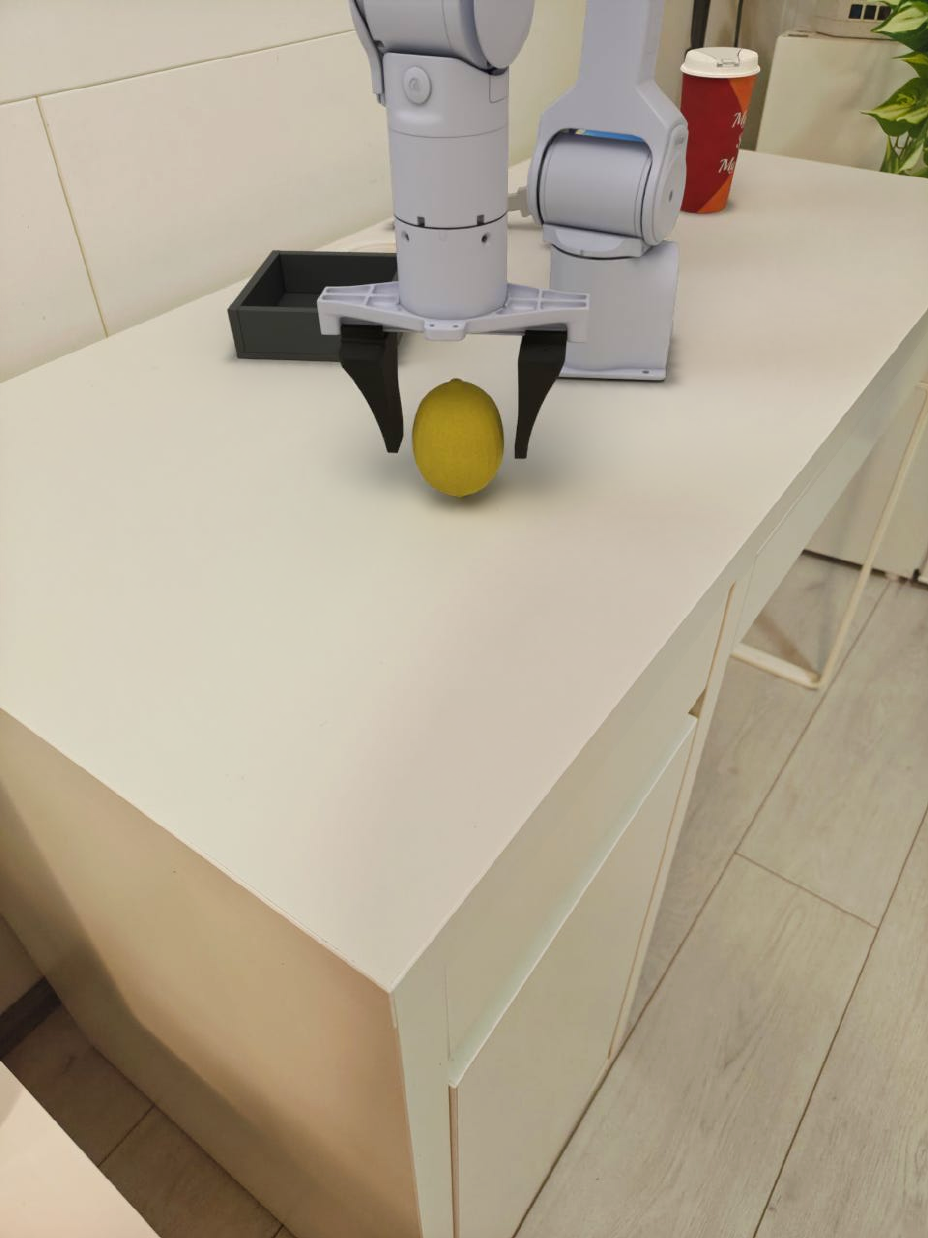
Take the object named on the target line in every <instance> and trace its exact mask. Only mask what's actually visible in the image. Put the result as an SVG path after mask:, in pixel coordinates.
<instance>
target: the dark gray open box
mask: <svg viewBox="0 0 928 1238" xmlns="http://www.w3.org/2000/svg"><path fill="white" fill-rule="evenodd" d="M395 281H399V280H398V266H397V252H371V251H328V250H327V251H325V250H323V251H322V250H317V251H316V250H279V249H272V250H271V251H270V253H269V254H268V256H267V257H266V258H265V260H264V261H263V262H262V263H261V265H260V266H259V268H258V269H256V271H255V272H254V274H253V275H252V277H251V278H250V279H249V280H248V282H247V283H246V285H245V286H244V287H243V288H242V290H241V291H240V292H239V293H238V295H237V296H236V298H235V299H234V300H233V301H232V303H231V304H230V305H229V307H228V308H227V310H226V311H227V312H226V313H227V317H228V321H229V326H230V329H231V334H232V339H233V345H234V349H235V354H236V358H237V359H238V358H239V359H261V360H289V361H291V360H292V361H293V360H294V361H317V362H318V361H321V362H340V360H339V357H338V350H339V348H340V346H341V338H342V337H341V334H339V335H322V334H321V328H320V321H319V313H318V306H317V300H318V298H319V297H320V295H321V293H322V292H323V290H324V288H325V287H345V286H359V285H368V284H377V283H386V282H395ZM403 334H404V332H398V335H397V343H398V345H399V344H400V341H401V339H402V337H403Z"/></svg>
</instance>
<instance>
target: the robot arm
mask: <svg viewBox="0 0 928 1238" xmlns="http://www.w3.org/2000/svg"><path fill="white" fill-rule="evenodd" d="M535 2H536V0H348V5H349V11H350V16H351V20H352V23H353V27H354V31H355V32H356V36H357V37H358V40H359V42H360V44H361V46H362V47H363V50H364V51H365V53H366V56H367V58H368V62H369V67H370V76H371V77H370V78H371V87H372V94H374V95H375V96H376V101H377V103H378V104H380V105H381V106H382V107H385V114H386V126H387V127H386V128H387V139H388V153H389V167H390V168H389V169H390V182H391V197H392V210H393V221H394V225H395V226H394V237H395V251H396V252H395V253H397V266H398V280H399V281H395V282H386V283H377V284H368V285H359V286H345V287H325V288H324V290H323V292H322V293H321V295H320V297H319V298H318V300H317V306H318V313H319V321H320V328H321V334H322V335H339V334H341V337H342V338H341V346H340V348H339V350H338V357H339V360H340V361H339V364H340V366H341V368H342V369H343V370H344V371H345V372H346V374H347V375H348V376H349V377H350V378H351V380H352V381H353V382H354V383H355V386H356V387H357V388H358V390H359V391H360V393H361V394H362V396H363V397H364V399H365V401H366V403H367V405H368V407H369V409H370V410H371V412H372V415H373V417H374V419H375V422H376V424H377V426H378V429H379V431H380V434H381V437H382V440H383V443H384V446H385V450H386V453H389V454H399V451H400V448H401V446H402V442H403V440H404V436H405V429H404V415H403V414H404V413H403V406H402V397H401V394H400V393H401V391H400V384H399V383H400V382H399V360H398V359H399V357H398V353H399V352H398V347H399V344H398V343H397V335H398V332H403V333H423V336H424V338H425V340H428V341H431V342H453V343H454V342H455V343H456V342H460V341H461V342H462V341H463V340H464V339H465V338H466V336H467V335H486V336H513V337H514V336H516V337H520V336H521V341H520V343H519V344H520V345H519V351H518V358H517V420H516V430H515V438H514V439H515V440H514V446H513V447H514V449H513V451H514V453H513V455H514V459H515V460H526V459H527V457H528V450H529V443H530V438H531V435H532V431H533V428H534V425H535V423H536V421H537V418H538V415H539V412H540V411H541V408H542V406H543V404H544V402H545V400H546V398H547V396H548V394H549V392H550V391H551V390H552V388H553V386H554V384H555V382H556V381H557V380H558V378H579V379H580V378H581V379H584V378H585V379H608V380H609V379H613V380H636V381H638V380H640V381H663V380H665V379H666V376H667V370H666V369H667V362H668V355H669V348H670V344H671V342H672V339H673V332H674V314H675V306H676V301H677V300H676V299H677V291H678V282H679V271H680V269H679V268H680V245H679V242H677V241H675V240H665V239H666V238H667V237H669V235H670V234H671V232H672V231H673V230H674V227H675V225H676V222H677V220H678V218H679V215H680V211H681V210H680V208H681V204H682V200H683V195H684V190H685V183H686V149H687V141H688V129H687V127H688V123H687V121H686V119H685V118H684V116H683V115H682V113H681V112H680V109H679V108H678V106H676V105H675V104H674V102H672V101H671V99H670V98H669V96H668V95H666V93H665V92H664V91H663V90H662V89H661V88H660V87H659V85H658V84H657V82H656V80H655V75H656V68H657V60H658V55H659V47H660V41H661V35H662V34H661V33H662V26H663V21H664V13H665V7H666V0H586V1H585V10H584V11H585V12H584V21H583V28H582V29H583V30H582V40H581V47H580V49H581V50H580V57H579V59H580V60H579V66H578V67H579V69H578V77H577V81H576V82H575V83H574V84H573V85H572V86H570V87H569V88H568V89H567V90H566V91H564V92H563V93H562V94H560V95H559V96H558V97H557V98H556V99H555V100H553V101H552V102H551V103H549V105H548V106H547V107H545V109H544V110H543V111H542V112H541V114H540V120H539V122H538V129H537V135H536V142H535V146H534V150H533V154H532V156H531V159H530V163H529V166H528V171H527V175H526V176H527V177H526V186H527V188H526V194H527V204H528V208H529V211H530V213H531V215H530V216H531V218H532V220H533V222H534V224H535V225H536V226H537V227H539V228H541V229H542V241H543V242H544V243H548V244H550V257H549V258H550V261H549V262H550V263H549V284H548V288H542V287H537V286H531V285H525V284H519V283H515V282H514V283H513V282H508V236H509V235H508V230H509V229H508V228H509V227H508V226H509V225H508V223H509V222H508V221H509V219H508V218H509V212H508V194H509V132H510V131H509V128H510V127H509V124H510V123H509V122H510V121H509V119H510V117H509V116H510V115H509V114H510V112H509V111H510V107H509V106H510V66H511V65H512V64H513V63H514V62H515V60H516V59H517V58H518V56H519V54H520V53H521V51H522V49H523V46H524V44H525V42H526V40H527V39H528V36H529V34H530V31H531V27H532V21H533V16H534V10H535V4H536V3H535ZM579 130H584V131H585V130H592V131H601V132H610V133H619V134H628V135H634V136H637V137H640V138H642V139H643V140H644V141H645V142H643V141H634V140H625V139H617V138H608V137H599V136H590V135H582V133H577V132H578V131H579Z"/></svg>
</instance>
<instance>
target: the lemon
mask: <svg viewBox="0 0 928 1238" xmlns="http://www.w3.org/2000/svg"><path fill="white" fill-rule="evenodd" d="M411 430H412V431H411V445H412V453H413V457H414V462H415V465H416V467H417V469H418V471H419V474H421V476H422V478H423V479H424V480H425V482H426V483H427V484H428V485H430V486H431V488H433V489H434V490H436V491H438V492H440V493H442V494H445V495H449V496H452V497H453V496H454V497H455V498H456V499H457V498H458V499H462V498H465V497H466V496H470V495H473V494H475V493H478V492H479V491H481V490H483V489H484V488H485V487H486V486H488V484H489V483H491V481H492V480H493V479H494V478H495V476H496V475H497V474H498V472H499V469H500V467H501V464H502V462H503V456H504V451H505V436H504V435H505V434H504V425H503V420H502V417H501V414H500V411H499V409H498V406H497V405H496V402H495V401H494V399H493V398H492V396H491V395H490V394H488V392H487V391H485V389H483V388H482V387H480V386H479V385H477V384H474V383H472V382H470V381H467V380H466V381H465V380H463V379H461V378H459V377H454V378H451V379H450V380H449V381H446V382H442V383H440V384H438V385H437V386H435V387H434V388H432V389H431V390H429V391H428V392H427V393H426V395H425V396H424V397H423V398H421V400H420V402H419V404H418V407H417V409H416V413H415V415H414V419H413V424H412V429H411Z"/></svg>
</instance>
